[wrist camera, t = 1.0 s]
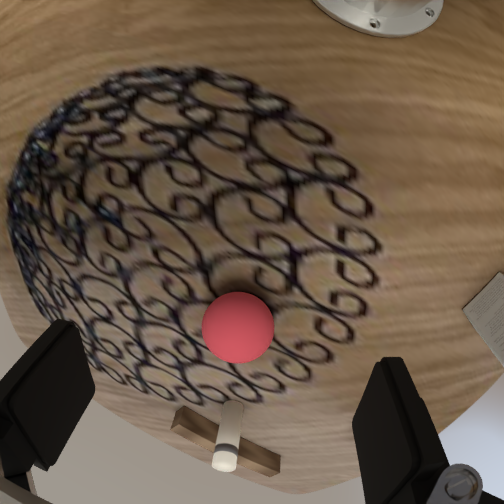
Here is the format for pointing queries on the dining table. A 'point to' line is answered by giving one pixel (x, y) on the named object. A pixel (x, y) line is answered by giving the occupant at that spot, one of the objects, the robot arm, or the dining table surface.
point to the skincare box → (489, 315)
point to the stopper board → (206, 437)
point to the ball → (238, 327)
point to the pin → (228, 437)
